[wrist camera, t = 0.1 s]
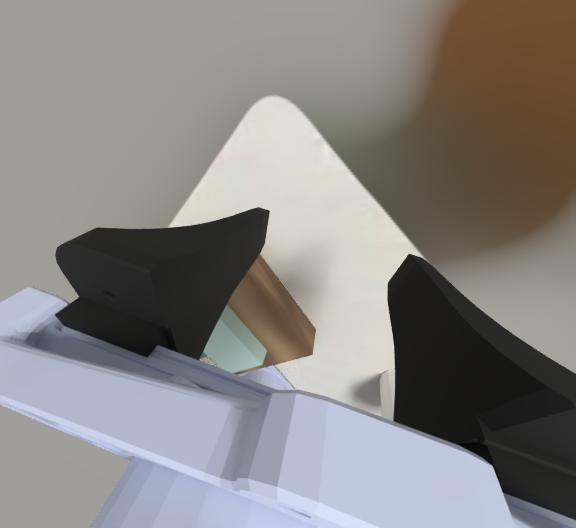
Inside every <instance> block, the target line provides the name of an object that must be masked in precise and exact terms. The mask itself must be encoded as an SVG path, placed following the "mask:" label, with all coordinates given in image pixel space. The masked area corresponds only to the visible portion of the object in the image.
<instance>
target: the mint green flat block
mask: <svg viewBox="0 0 576 528" xmlns="http://www.w3.org/2000/svg"><path fill="white" fill-rule="evenodd" d="M203 352H204V353H205V354H206V355H207V356H208V357H209V358H210V359H211V360H212V361H213V362H214V363H215V364H216V365H217V366H218V367H219V368H220V369H223V370H225V371H228V372H231V373H235V372H238V371H242V370H246V369H249V368H253V367H257V366H260V365H262V364H263V361H264V359H265V356H266V353H267V350H266V349H265V347H264V346H263V345H262V344H261V343H260V342H259V341H258V339H257V338H256V337H255V336H254V335H253V334H252V333H251V331H250V330H249V329H248V328H247V327H246V326H245V325H244V323H243V322H242V321H241V320H240V319H239V318H238V317H237V315H236V314H235V313H234V312H233V311H232V310H231V309H230V307H229V306H228V305H226V307H225V309H224V311H223V313H222V315H221V316H220V318H219V320H218V322H217V324H216V326H215V328H214V330H213V332H212V334H211V336H210V338H209V340H208V342H207V344H206V347H205V349H204V351H203Z"/></svg>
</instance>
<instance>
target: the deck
mask: <svg viewBox="0 0 576 528" xmlns="http://www.w3.org/2000/svg"><path fill="white" fill-rule="evenodd" d="M227 305H228V306H229V307H230V309H231V310H232V311H233V312H234V313H235V314H236V315H237V317H238V318H239V319H240V320H241V321H242V322H243V323H244V325H245V326H246V327H247V328H248V329H249V330H250V331H251V333H252V334H253V335H254V336H255V337H256V338H257V339H258V341H259V342H260V343H261V344H262V345H263V346H264V347H265V349H266V350H267V353H266V356H265V359H264V361H263V364H262V365H260V366H257V367H253V368H249V369H246V370H242V371H238V372H235V373H234V374H236V375H239V374H242V373H246V372H250V371H254V370H257V369H261V368H265V367H268V366H272V365H276V364H280V363H283V362H287V361H291V360H294V359H298V358H302V357H306V356H309V355H312V354H313V347H314V339H315V332H316V329H315V328H314V326H313V325H312V324H311V322H310V321H309V320H308V318H307V317H306V316H305V314H304V313H303V312H302V310H301V309H300V308H299V306H298V305H297V304H296V302H295V301H294V299H293V298H292V297H291V295H290V294H289V293H288V291H287V290H286V289H285V287H284V286H283V285H282V283H281V282H280V281H279V279H278V278H277V277H276V275H275V274H274V273H273V271H272V270H271V268H270V267H269V266H268V264H267V263H266V262H265V260H264V259H263V258H262V256H261V255H260V254H259V256H258V258H257V259H256V261H255V262H254V263H253V265H252V266H251V268H250V269H249V271H248V272H247V273H246V275H245V276H244V278H243V279H242V280H241V282H240V283H239V285H238V286H237V288H236V289H235V291H234V292H233V294H232V296H231V298H230V300H229V301H228V303H227Z"/></svg>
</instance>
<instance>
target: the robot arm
mask: <svg viewBox="0 0 576 528" xmlns="http://www.w3.org/2000/svg"><path fill="white" fill-rule="evenodd" d="M269 212H270V211H269V210H265V209H262V208H259V207H258V208H254V209H251V210H248V211H245V212H242V213H239V214H236V215H233V216H230V217H227V218H223V219H220V220H216V221H212V222H208V223H203V224H197V225H191V226H183V227H173V228H162V229H119V228H95V229H93V230H91V231H89V232H87V233H85V234H82V235H80V236H78V237H76V238H74V239H72V240H70V241H68V242H66V243H64V244H62V245H60V246H59V247H57V250H56V260H57V264H58V265H59V267H60V269H61V271H62V272H63V274H64V275H65V276H66V278H67V279H68V281H69V282H70V284H71V285H72V287H73V288H74V290H75V291H76V292H77V294H78V295H79V298H78V299H76V300H75V301H74V302H72V303H69V302H67V301H66V300H64V299H63V298H61V297H59V296H56V295H53V294H50V293H48V292H45V291H42V290H40V289H37V288H34V287H27V288H25V289H24V290H22V291H20V292H19V293H17V294H15V295H13V296H11V297H10V298H8V299H6V300H4V301H2V302H0V405H2V406H5V407H7V408H10V409H12V410H14V411H17V412H19V413H21V414H24V415H26V416H28V417H31V418H33V419H35V420H38V421H40V422H42V423H45V424H47V425H49V426H52V427H54V428H56V429H59V430H61V431H64V432H66V433H68V434H71V435H73V436H75V437H77V438H80V439H82V440H84V441H87V442H89V443H92V444H93V445H96V446H98V447H100V448H103V449H105V450H107V451H110V452H112V453H115V454H117V455H119V456H122V457H124V458H126V459H129V460H131V463H130V464H129V466H128V467H127V469H126V471H125V472H124V474H123V475H122V477H121V479H120V480H119V482H118V484H117V485H116V487H115V488H114V490H113V491H112V493H111V495H110V496H109V498H108V499H107V501H106V503H105V504H104V506H103V507H102V509H101V510H100V512H99V514H98V515H97V517H96V518H95V520H94V521H93V523H92V525H91V526H90V528H576V374H575V373H573V372H571V371H570V370H568V369H567V368H565V367H563V366H561V365H560V364H558V363H557V362H555V361H553V360H552V359H550V358H548V357H547V356H545V355H543V354H542V353H540V352H539V351H537V350H536V349H534V348H533V347H531V346H530V345H528V344H527V343H525V342H524V341H522V340H521V339H519V338H518V337H516V336H515V335H513V334H512V333H510V332H509V331H508V330H506V329H505V328H503V327H502V326H501V325H500V324H498V323H497V322H495V321H494V320H493V319H492V318H490V317H489V316H488V315H486V314H485V313H484V312H483V311H481V310H480V309H479V308H478V307H476V306H475V305H474V304H473V303H472V302H471V301H469V300H468V299H467V298H466V297H464V295H463V294H461V293H460V292H459V291H458V290H457V289H456V288H455V287H454V286H453V285H452V284H451V283H449V281H448V280H446V279H445V278H444V277H443V276H442V275H441V274H440V273H439V272H438V271H437V270H436V269H435V268H434V267H433V266H432V265H430V264H429V263H428V262H427V261H426V260H424V259H423V258H421V257H418V256H415V255H411V254H409V255H408V256H407V257H406V259H405V260H404V261H403V263H402V264H401V266H400V267H399V268H398V270H397V271H396V273H395V274H394V275H393V277H392V278H391V279H390V281H389V282H388V307H389V314H390V320H391V326H392V333H393V340H394V352H395V396H394V415H393V421H391V420H388V419H385V418H383V417H380V416H377V415H375V414H372V413H369V412H367V411H364V410H361V409H358V408H356V407H353V406H350V405H348V404H345V403H342V402H339V401H337V400H334V399H331V398H329V397H325V396H321V395H317V394H314V393H310V392H306V391H302V390H295V389H294V388H293V387H292V386H291V384H290V383H289V382H288V381H287V380H286V379H285V378H284V377H283V375H282V374H281V373H280V372H279V371H278V370H277V369H276V368H275V366H274V365H272V366H268V367H265V368H261V369H257V370H254V371H250V372H246V373H242V374H239V375H236V374H234V373H231V372H228V371H225V370H223V369H220V368H217V367H215V366H212V365H209V364H207V363H204V362H201V361H199V359H200V357H201V355H202V353H203V351H204V349H205V347H206V344H207V342H208V340H209V338H210V336H211V334H212V332H213V330H214V328H215V326H216V324H217V322H218V320H219V318H220V316H221V315H222V313H223V311H224V309H225V307H226V305H227V303H228V301H229V300H230V298H231V296H232V294H233V292H234V291H235V289H236V288H237V286H238V285H239V283H240V282H241V280H242V279H243V278H244V276H245V275H246V273H247V272H248V271H249V269H250V268H251V266H252V265H253V263H254V262H255V261H256V259H257V258H258V256H259V254H260V252H261V250H262V248H263V246H264V244H265V238H266V232H267V225H268V219H269Z"/></svg>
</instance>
